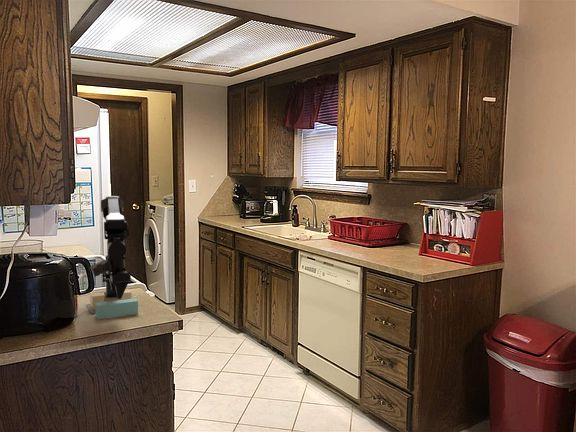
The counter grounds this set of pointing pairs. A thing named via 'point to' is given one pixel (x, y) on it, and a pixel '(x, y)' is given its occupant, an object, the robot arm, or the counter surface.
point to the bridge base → (100, 298)
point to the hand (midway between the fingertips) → (116, 295)
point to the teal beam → (116, 308)
